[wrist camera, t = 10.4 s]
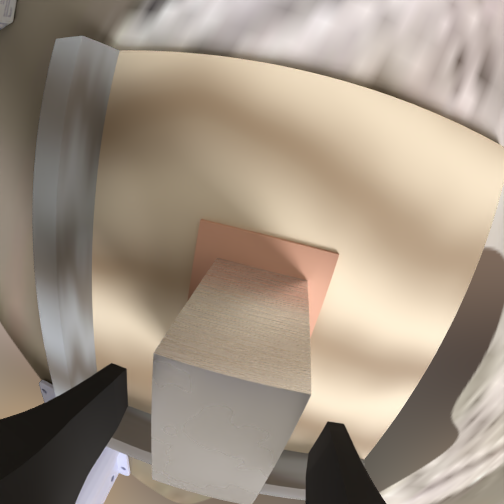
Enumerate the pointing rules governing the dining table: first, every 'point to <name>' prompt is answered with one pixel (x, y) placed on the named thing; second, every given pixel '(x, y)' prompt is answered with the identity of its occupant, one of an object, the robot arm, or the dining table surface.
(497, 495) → the dining table surface
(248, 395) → the aluminium block
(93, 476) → the robot arm
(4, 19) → the medicine box
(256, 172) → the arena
